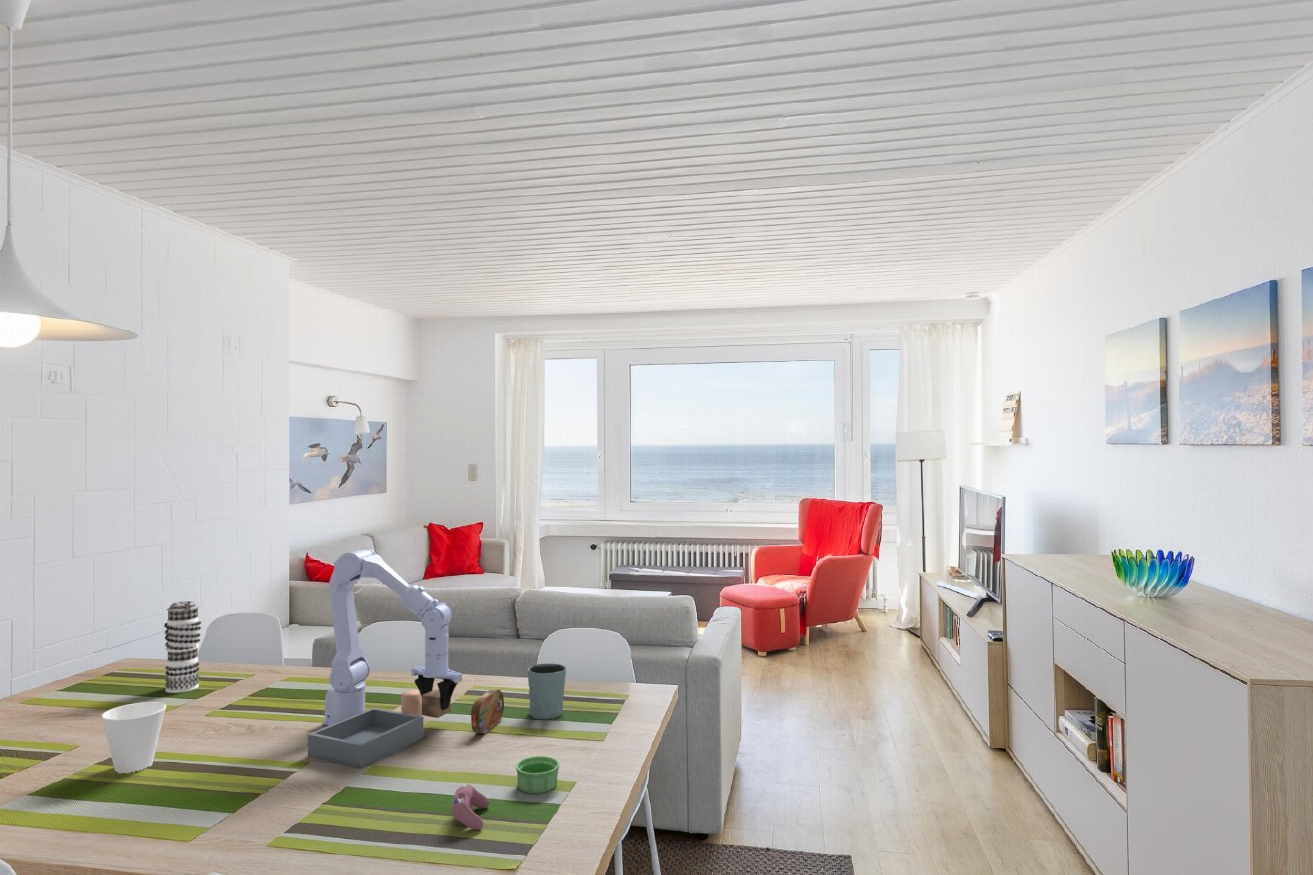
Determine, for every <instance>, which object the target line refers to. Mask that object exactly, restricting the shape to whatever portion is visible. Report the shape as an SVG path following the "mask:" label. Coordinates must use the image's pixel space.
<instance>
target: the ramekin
mask: <svg viewBox="0 0 1313 875" xmlns="http://www.w3.org/2000/svg"><path fill="white" fill-rule="evenodd" d="M559 768H560V762H559V760H557V758H554V757H552V756H546V755H545V756H544V755H543V756H542V755H541V756H540V755H537V756H530V757H527V758H526V757H525V758H524V759H521V760H519V761H518V762H517V763H516V764H515V771H516V775H517V776H516V778H517V787H518V788H519V789H520V790H521V791H522V792H525V793H528V794H542V793H547V792H549V791H551V790H553V789H555V787H556V786H557V784H558V776H559V775H558V774H559Z"/></svg>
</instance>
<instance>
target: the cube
mask: <svg viewBox="0 0 1313 875" xmlns="http://www.w3.org/2000/svg"><path fill="white" fill-rule="evenodd" d="M451 701H452V699H451V700H450V704H449V708H447V709H445V710H441V702H440V692H439V689H433V690H432V691H430V692H428V693H425V694H423V695H422V716H423V717H424V716H425V717H430V718H436V719H438V718H440V717H443V716H445V715H447V714H449V713H451V711H452V710H451V709H452V707H451V706H452V705H451Z"/></svg>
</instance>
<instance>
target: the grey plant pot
mask: <svg viewBox="0 0 1313 875" xmlns="http://www.w3.org/2000/svg"><path fill="white" fill-rule="evenodd" d="M566 676H567V666H565V665H563V664H559V663H548V662H547V663H538V664H534V665H530V666H529V667H528V668H527V681H528V688H529V690H528V695H529V696H528V697H529V698H528V699H529V715H530V717H531V716H532V717H531V718H533V717H534V718H533V719H537V720H550V718H552V719H556V718H558V717H557V716H559V715H560V716H562V715H561V714H563V709H564V708H563V707H564V696H565V686H566ZM560 716H559V717H560ZM555 717H556V718H555Z"/></svg>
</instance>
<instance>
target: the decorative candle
mask: <svg viewBox="0 0 1313 875" xmlns="http://www.w3.org/2000/svg"><path fill="white" fill-rule="evenodd" d="M199 608H200V607H199V605H197V604H196V602H194V601H191V600H188V601H186V600H185V601H184V600H183V601H178V602H174V603H172V604H171V605H169V608H167V609H166V611H167V617H168V618H167V621H166V622H165V623H164V626H163V627H164V628H165V629H166V630H164V635H165V637H164V639H165V640H166V642H165V646H164V647H166V648H165V651H166V652H167V659H166V666H165V670H166V671H165V672H164V673H165V675H166V677H165V678H164V681H165V684H164V686H165V687H166V688H165V692H166V693H167V694H168V693H169V694H170V693H172V694H177V693H179V694H180V693H186V692H190V691H194V690H196V689H198V688H199V687H200V684H199V683H200V679H199V678H200V673H199V671H200V667H198V666H200V662H199V656H198V648H200V644H199V642H201V639H200V638H199V637H201V633H199V632H198V631H200V630H201V629H202V627H201V626H200V625H201V624H202V622H201V621H200V620H199V619H200V618H199Z"/></svg>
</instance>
